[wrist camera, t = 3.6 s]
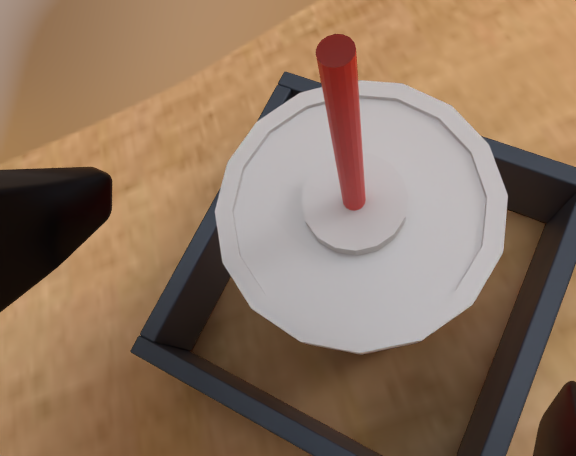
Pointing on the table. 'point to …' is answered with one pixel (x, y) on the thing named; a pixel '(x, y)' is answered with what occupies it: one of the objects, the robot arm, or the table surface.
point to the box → (506, 364)
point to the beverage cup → (361, 211)
